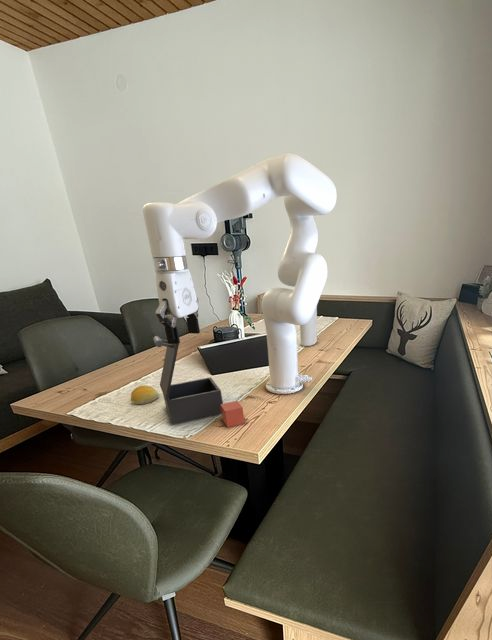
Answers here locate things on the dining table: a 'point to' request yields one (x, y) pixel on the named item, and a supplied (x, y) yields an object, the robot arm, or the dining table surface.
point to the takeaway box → (193, 400)
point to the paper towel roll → (309, 331)
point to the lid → (167, 364)
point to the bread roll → (143, 395)
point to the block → (232, 413)
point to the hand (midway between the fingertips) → (184, 338)
